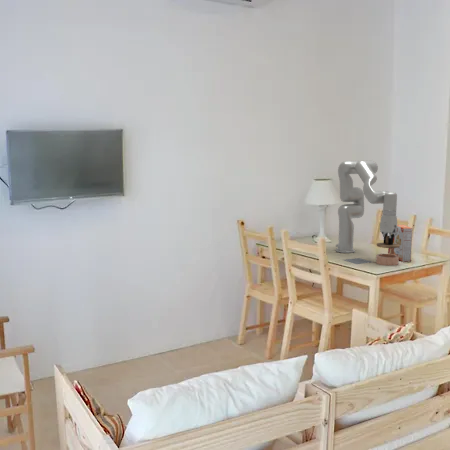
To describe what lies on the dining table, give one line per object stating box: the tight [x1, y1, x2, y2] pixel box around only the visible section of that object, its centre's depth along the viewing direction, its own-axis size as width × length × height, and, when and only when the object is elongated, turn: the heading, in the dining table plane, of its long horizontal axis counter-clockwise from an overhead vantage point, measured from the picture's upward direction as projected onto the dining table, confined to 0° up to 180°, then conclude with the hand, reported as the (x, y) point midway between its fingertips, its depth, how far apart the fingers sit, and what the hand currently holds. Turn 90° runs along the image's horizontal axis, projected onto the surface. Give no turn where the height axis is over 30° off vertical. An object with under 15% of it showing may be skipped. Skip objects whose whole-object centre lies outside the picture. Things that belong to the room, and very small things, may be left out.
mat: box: [343, 257, 373, 265], centre depth 329 cm, size 13×13×1 cm
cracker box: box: [394, 224, 413, 263], centre depth 336 cm, size 14×6×21 cm, turn 3°
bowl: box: [375, 253, 400, 266], centre depth 324 cm, size 12×12×5 cm
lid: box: [376, 235, 400, 249], centre depth 322 cm, size 13×13×6 cm
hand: (388, 243), depth 322 cm, fingers closed on lid, 3 cm apart
